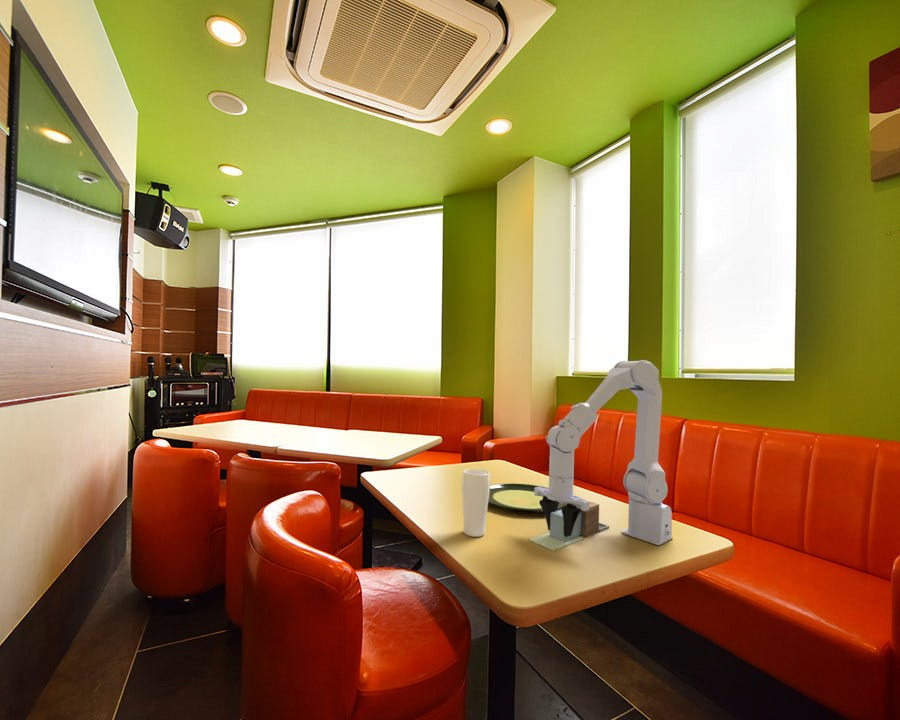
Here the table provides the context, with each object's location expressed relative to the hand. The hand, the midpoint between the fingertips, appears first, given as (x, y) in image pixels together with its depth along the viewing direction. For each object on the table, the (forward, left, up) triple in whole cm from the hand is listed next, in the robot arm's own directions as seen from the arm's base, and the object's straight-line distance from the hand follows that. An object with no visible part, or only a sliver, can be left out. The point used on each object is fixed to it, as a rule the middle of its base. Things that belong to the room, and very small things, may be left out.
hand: (559, 532), depth 101 cm
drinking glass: (+14, +15, -2) cm, 21 cm away
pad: (0, +1, -1) cm, 2 cm away
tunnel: (0, -9, -1) cm, 9 cm away
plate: (+24, -15, -2) cm, 28 cm away
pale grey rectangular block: (0, -5, -1) cm, 5 cm away
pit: (0, -14, -1) cm, 14 cm away
